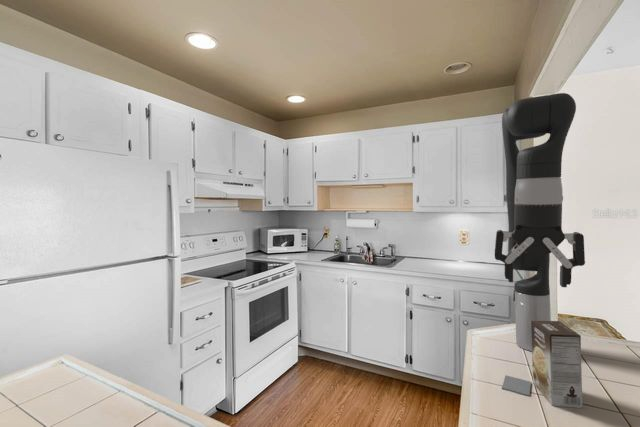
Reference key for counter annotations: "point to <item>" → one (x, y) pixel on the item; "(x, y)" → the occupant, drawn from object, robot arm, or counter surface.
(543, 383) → the coffee box
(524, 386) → the mat
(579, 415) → the counter surface
